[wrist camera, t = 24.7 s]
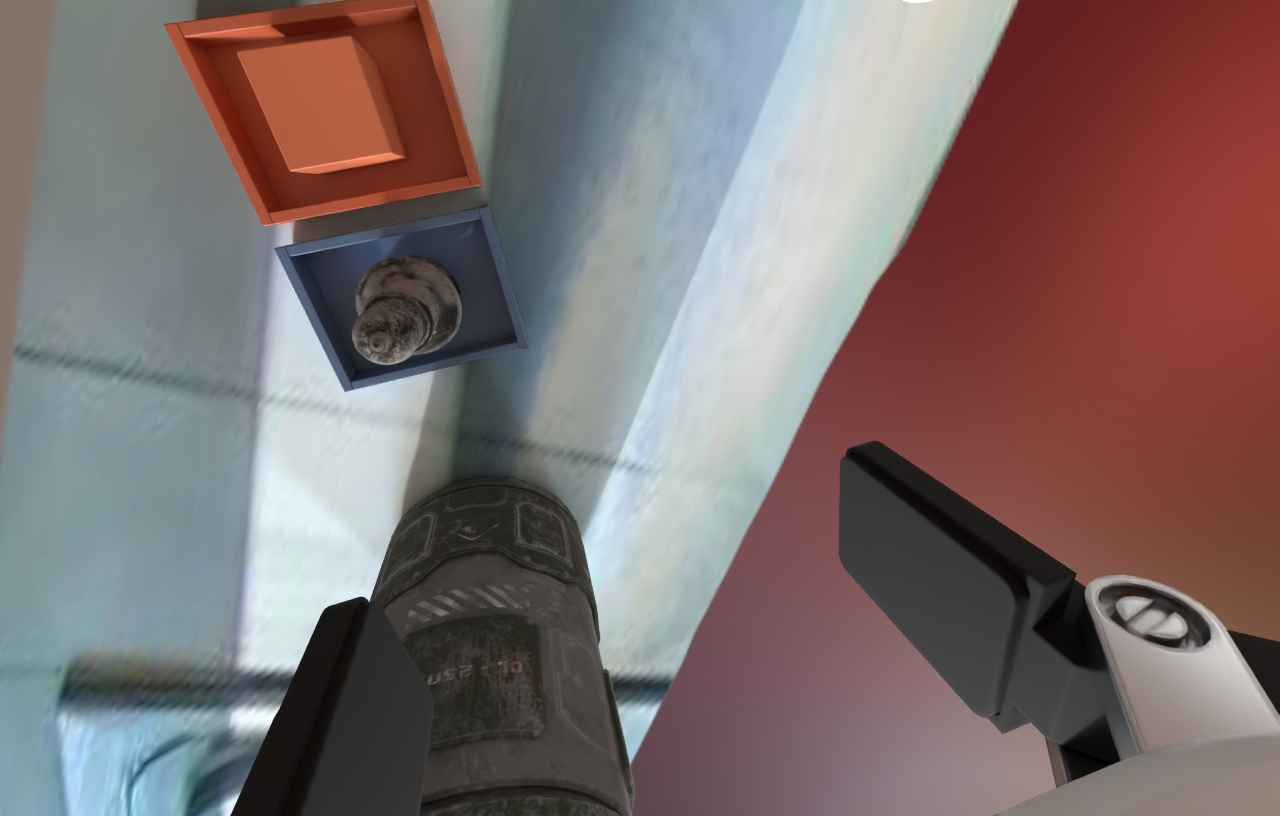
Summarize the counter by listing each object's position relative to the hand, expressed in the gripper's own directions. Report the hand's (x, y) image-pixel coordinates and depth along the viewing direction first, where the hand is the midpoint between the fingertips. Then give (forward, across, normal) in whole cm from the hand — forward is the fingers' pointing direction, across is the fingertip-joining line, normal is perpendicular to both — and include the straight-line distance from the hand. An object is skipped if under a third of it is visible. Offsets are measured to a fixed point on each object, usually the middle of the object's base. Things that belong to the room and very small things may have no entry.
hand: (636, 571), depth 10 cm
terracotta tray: (+28, +8, -12) cm, 32 cm away
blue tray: (+28, +8, -2) cm, 29 cm away
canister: (+28, +10, +20) cm, 36 cm away
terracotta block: (+28, +8, -12) cm, 31 cm away
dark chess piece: (+28, +8, -2) cm, 29 cm away
